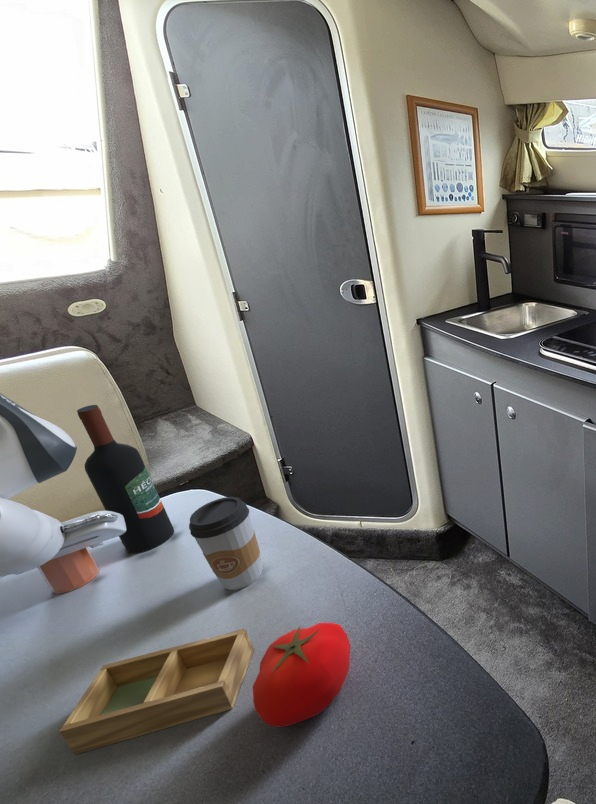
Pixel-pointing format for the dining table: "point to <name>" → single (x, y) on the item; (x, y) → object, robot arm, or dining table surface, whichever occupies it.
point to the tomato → (301, 674)
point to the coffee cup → (228, 541)
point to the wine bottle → (124, 485)
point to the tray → (159, 691)
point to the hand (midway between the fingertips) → (61, 554)
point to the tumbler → (69, 571)
